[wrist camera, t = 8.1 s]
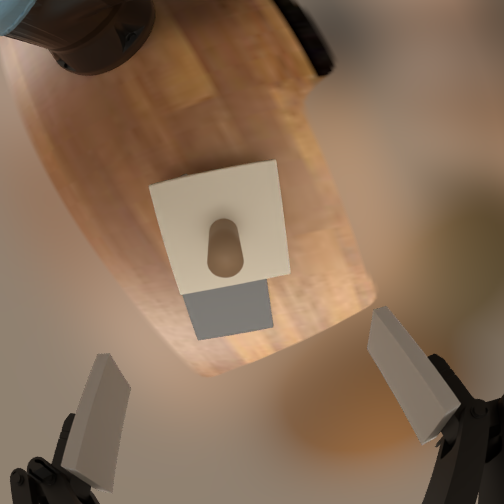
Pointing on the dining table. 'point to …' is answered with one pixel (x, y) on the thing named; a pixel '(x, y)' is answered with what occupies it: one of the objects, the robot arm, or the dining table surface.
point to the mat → (230, 309)
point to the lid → (223, 226)
